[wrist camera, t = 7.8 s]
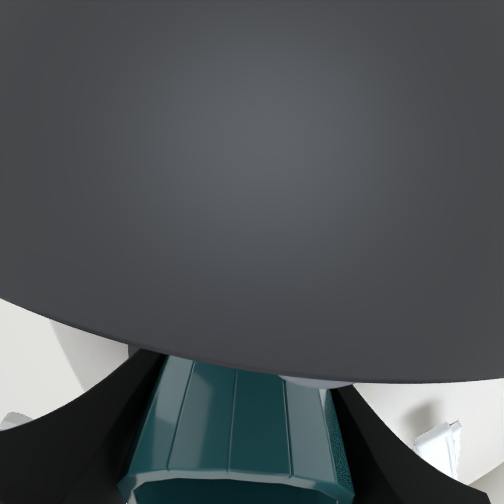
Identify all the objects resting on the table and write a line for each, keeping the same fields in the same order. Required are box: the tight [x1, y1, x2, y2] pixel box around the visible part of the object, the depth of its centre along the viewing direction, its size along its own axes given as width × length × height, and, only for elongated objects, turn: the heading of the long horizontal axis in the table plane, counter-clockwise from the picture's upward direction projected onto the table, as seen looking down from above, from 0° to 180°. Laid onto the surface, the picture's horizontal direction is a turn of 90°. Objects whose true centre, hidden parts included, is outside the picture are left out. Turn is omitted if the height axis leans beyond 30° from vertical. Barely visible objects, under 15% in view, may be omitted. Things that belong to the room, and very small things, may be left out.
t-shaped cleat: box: [413, 421, 461, 481], centre depth 15 cm, size 4×20×5 cm, turn 29°
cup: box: [116, 354, 355, 504], centre depth 8 cm, size 5×5×7 cm
